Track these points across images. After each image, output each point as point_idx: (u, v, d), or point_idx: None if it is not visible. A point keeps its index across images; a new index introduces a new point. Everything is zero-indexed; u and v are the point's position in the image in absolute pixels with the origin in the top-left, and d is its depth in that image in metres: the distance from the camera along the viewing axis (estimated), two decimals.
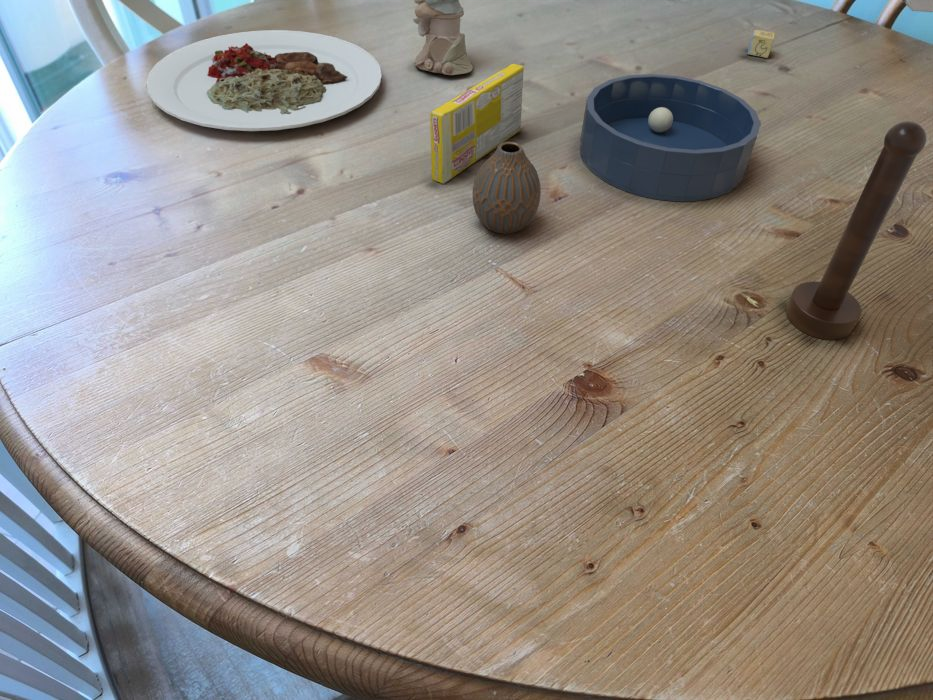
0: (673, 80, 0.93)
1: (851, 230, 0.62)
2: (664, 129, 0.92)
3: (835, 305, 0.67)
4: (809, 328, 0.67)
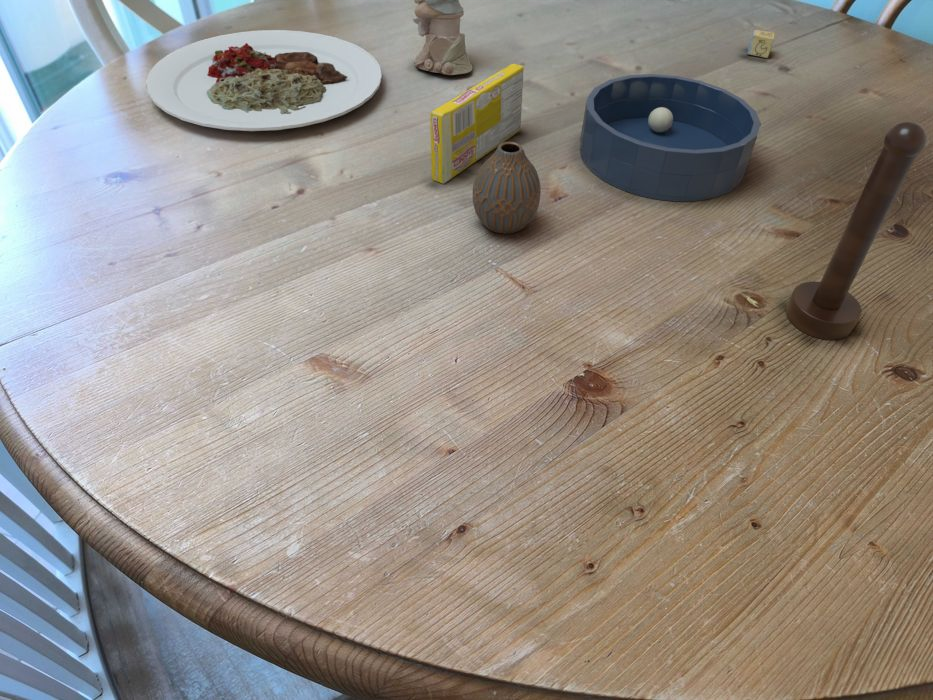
0: (673, 80, 0.93)
1: (851, 230, 0.62)
2: (664, 129, 0.92)
3: (835, 305, 0.67)
4: (809, 328, 0.67)
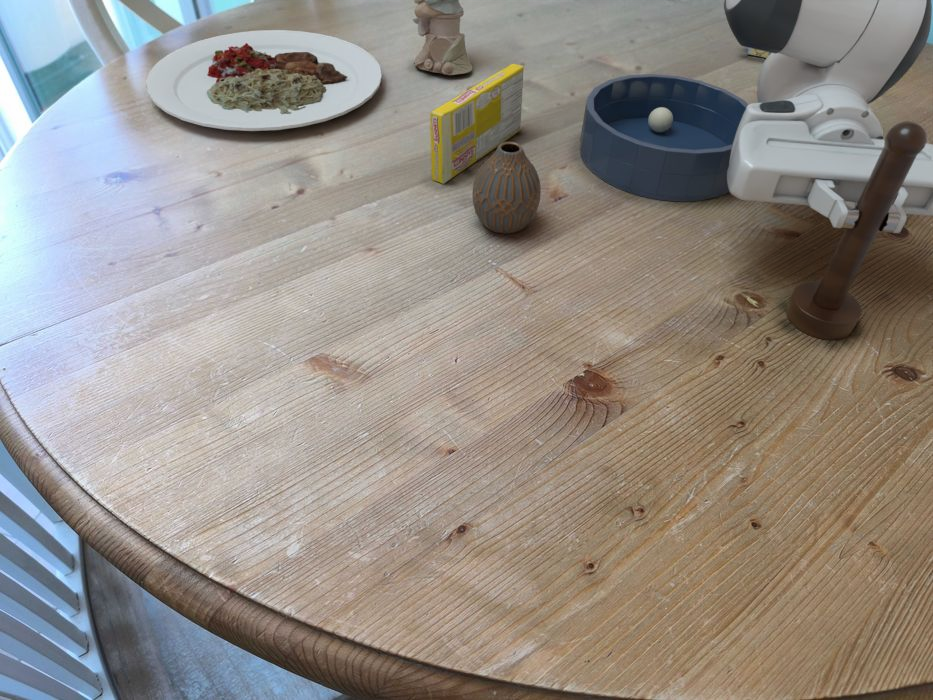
0: (673, 80, 0.93)
1: (851, 230, 0.62)
2: (664, 129, 0.92)
3: (835, 305, 0.67)
4: (809, 328, 0.67)
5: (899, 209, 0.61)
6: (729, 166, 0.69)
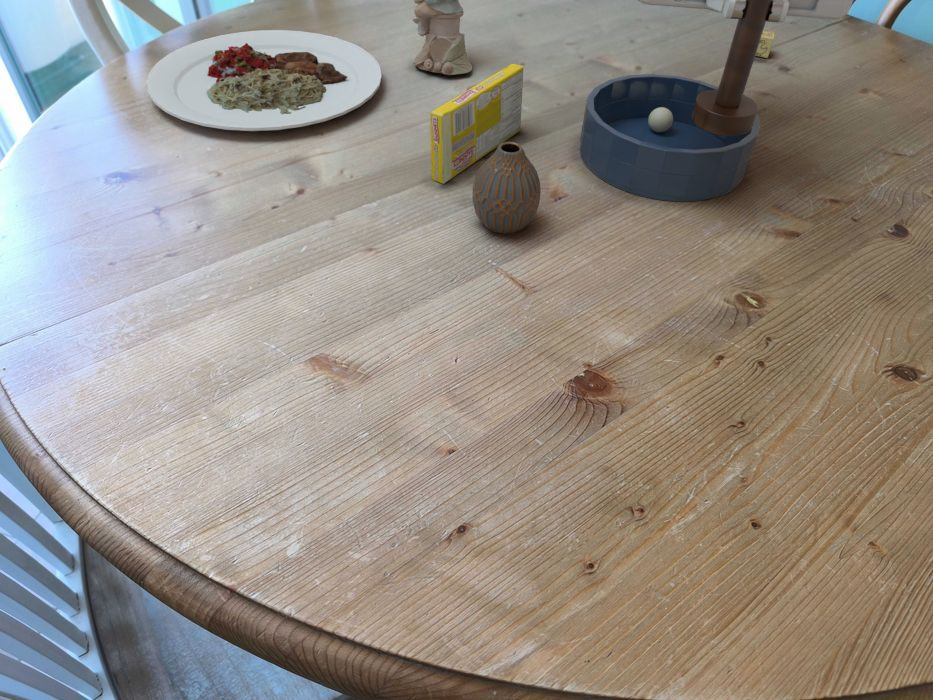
0: (673, 80, 0.93)
1: (741, 20, 0.68)
2: (664, 129, 0.92)
3: (733, 103, 0.73)
4: (710, 125, 0.73)
5: None
6: None
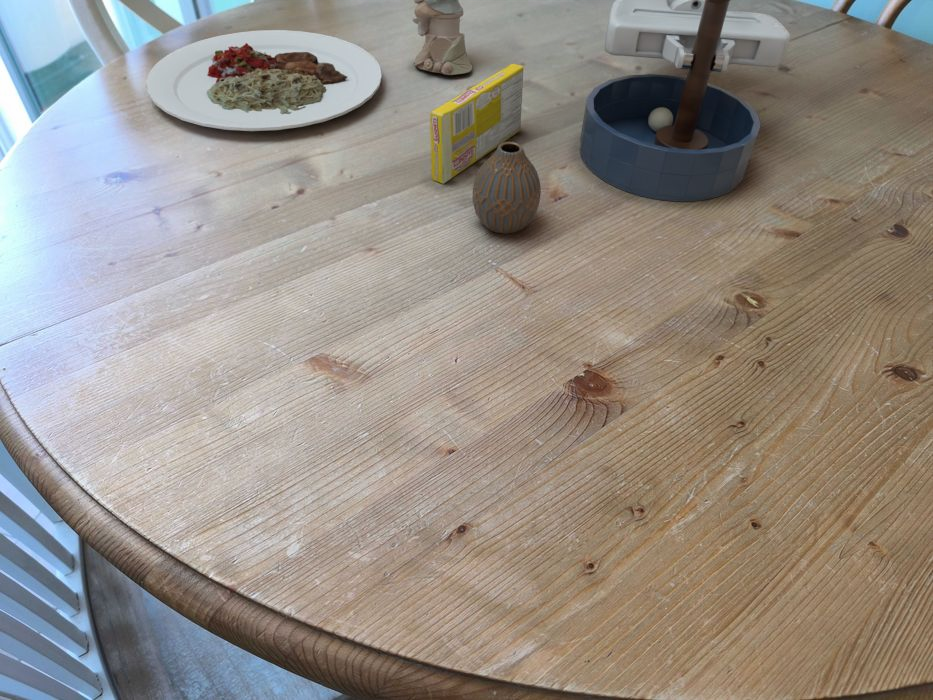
0: (673, 80, 0.93)
1: (690, 70, 0.81)
2: None
3: (686, 137, 0.86)
4: None
5: (725, 52, 0.80)
6: None
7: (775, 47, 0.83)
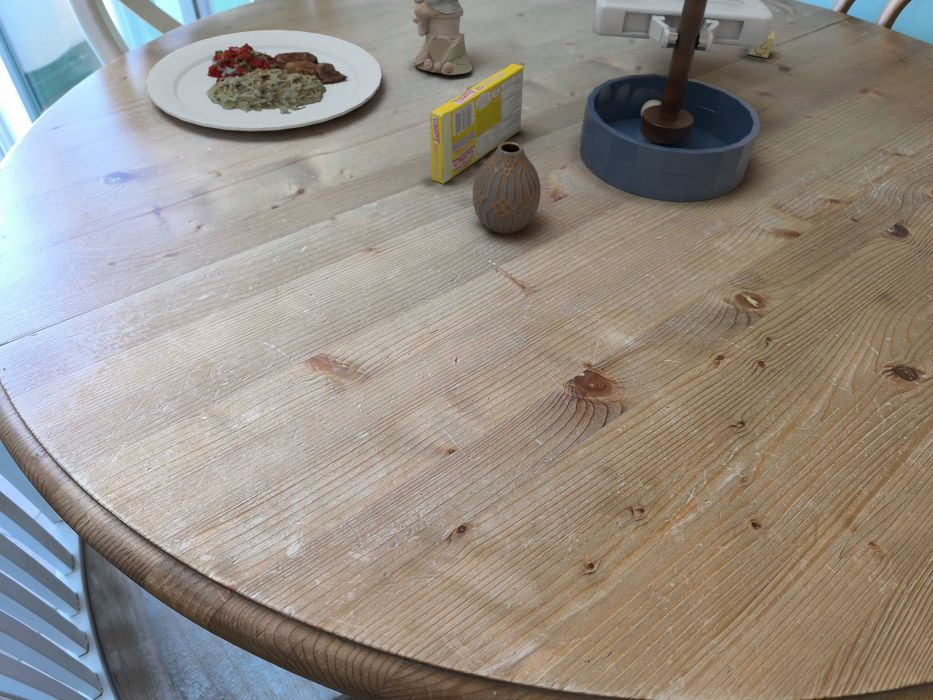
0: None
1: (675, 49, 0.83)
2: None
3: (672, 116, 0.88)
4: (653, 135, 0.88)
5: (709, 32, 0.82)
6: None
7: (758, 27, 0.85)
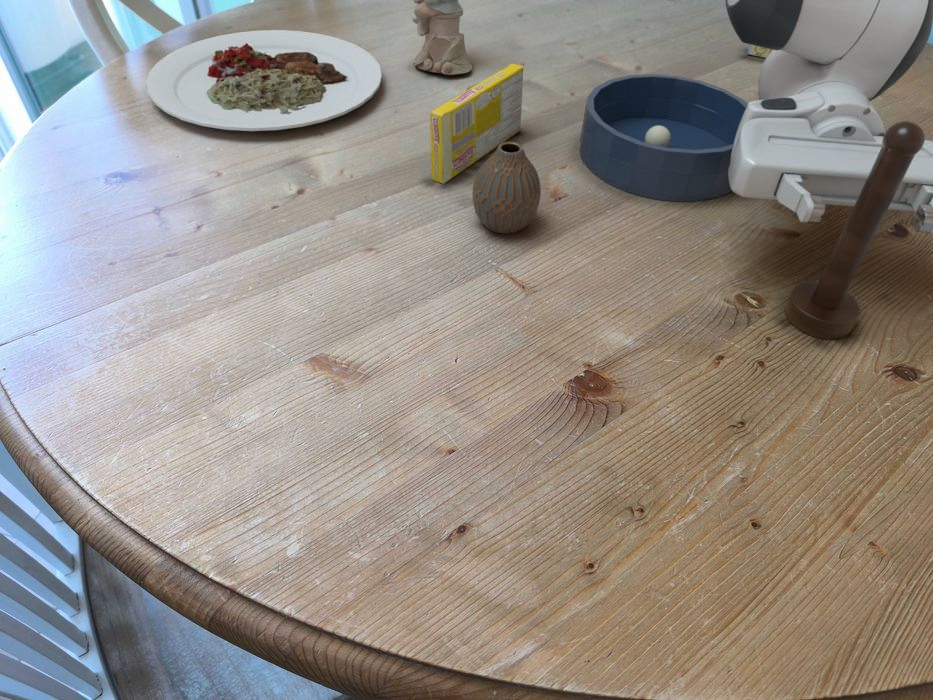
0: (673, 80, 0.93)
1: (850, 230, 0.62)
2: None
3: (833, 305, 0.67)
4: (808, 328, 0.67)
5: None
6: (730, 163, 0.69)
7: None
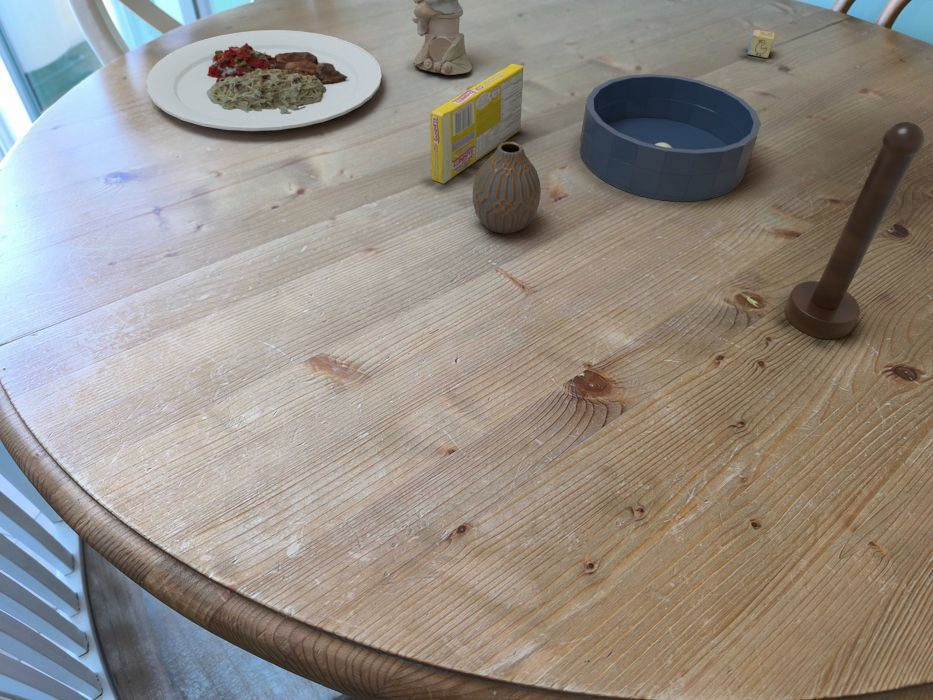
0: (673, 80, 0.93)
1: (850, 230, 0.62)
2: None
3: (833, 305, 0.67)
4: (808, 328, 0.67)
5: None
6: None
7: None
